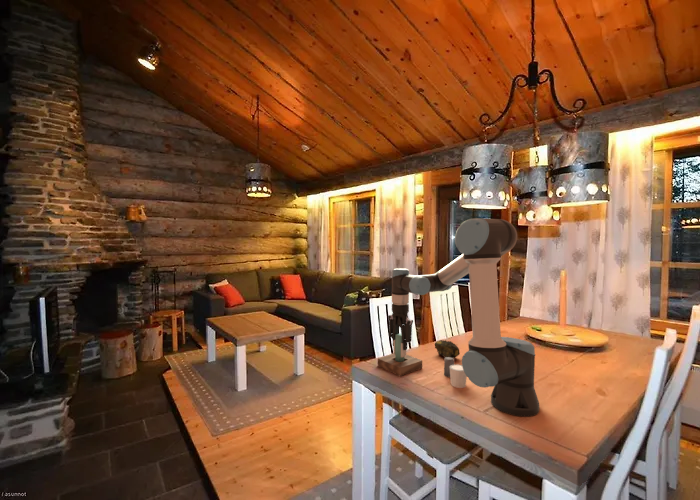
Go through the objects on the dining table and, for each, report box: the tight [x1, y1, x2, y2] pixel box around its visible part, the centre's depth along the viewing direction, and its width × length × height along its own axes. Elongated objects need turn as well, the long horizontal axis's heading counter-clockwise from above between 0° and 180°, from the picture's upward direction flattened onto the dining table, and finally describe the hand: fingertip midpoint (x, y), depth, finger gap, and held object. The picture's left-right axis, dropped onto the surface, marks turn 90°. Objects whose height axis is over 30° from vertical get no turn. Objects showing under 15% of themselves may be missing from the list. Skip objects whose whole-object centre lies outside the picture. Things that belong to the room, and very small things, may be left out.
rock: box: [434, 339, 461, 359], centre depth 168 cm, size 12×9×8 cm
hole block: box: [377, 353, 423, 377], centre depth 155 cm, size 14×14×4 cm
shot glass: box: [449, 364, 468, 389], centre depth 137 cm, size 7×7×7 cm
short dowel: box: [443, 357, 455, 378], centre depth 146 cm, size 4×4×7 cm
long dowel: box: [395, 333, 404, 362], centre depth 155 cm, size 4×4×14 cm
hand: (399, 355), depth 155 cm, fingers closed on long dowel, 4 cm apart
